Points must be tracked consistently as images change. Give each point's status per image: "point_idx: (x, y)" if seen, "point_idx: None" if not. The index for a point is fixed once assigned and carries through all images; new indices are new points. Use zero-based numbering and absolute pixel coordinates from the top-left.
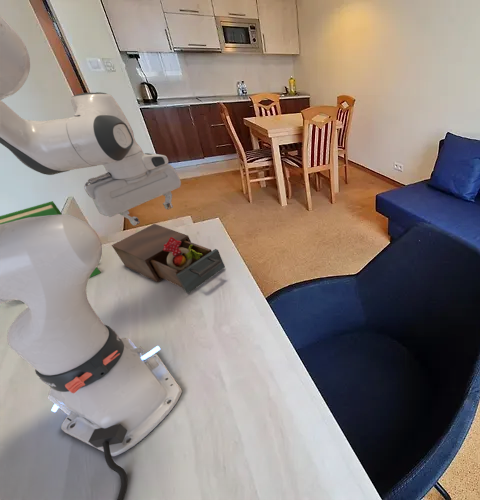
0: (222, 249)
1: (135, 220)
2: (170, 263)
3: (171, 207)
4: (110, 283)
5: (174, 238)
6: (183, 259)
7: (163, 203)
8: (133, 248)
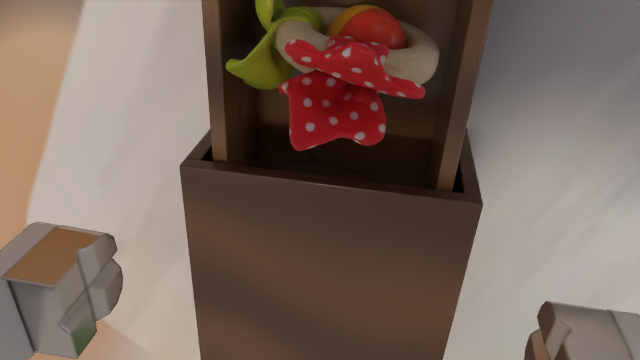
0: (124, 18)
1: (618, 356)
2: (429, 46)
3: (55, 226)
4: (526, 316)
5: (242, 219)
6: (354, 9)
7: (70, 343)
8: (405, 348)
